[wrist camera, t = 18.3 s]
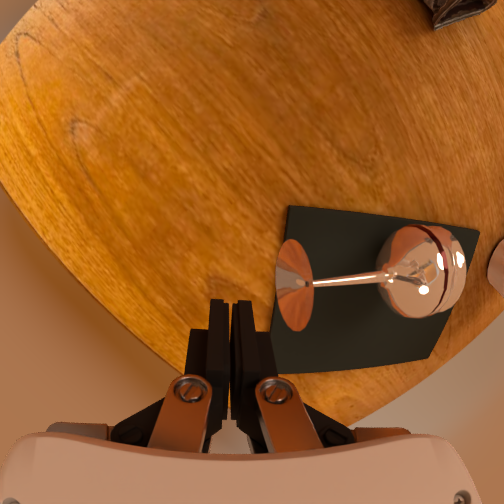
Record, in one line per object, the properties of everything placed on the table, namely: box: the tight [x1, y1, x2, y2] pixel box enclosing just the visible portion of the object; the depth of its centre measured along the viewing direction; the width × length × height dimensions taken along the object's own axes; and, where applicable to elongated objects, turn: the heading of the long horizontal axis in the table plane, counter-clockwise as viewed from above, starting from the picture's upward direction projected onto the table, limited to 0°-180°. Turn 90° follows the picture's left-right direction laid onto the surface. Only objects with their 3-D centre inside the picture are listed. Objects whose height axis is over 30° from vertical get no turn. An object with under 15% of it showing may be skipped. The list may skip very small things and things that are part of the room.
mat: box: [269, 205, 480, 374], centre depth 24 cm, size 20×16×1 cm
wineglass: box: [276, 224, 466, 331], centre depth 17 cm, size 7×7×12 cm
